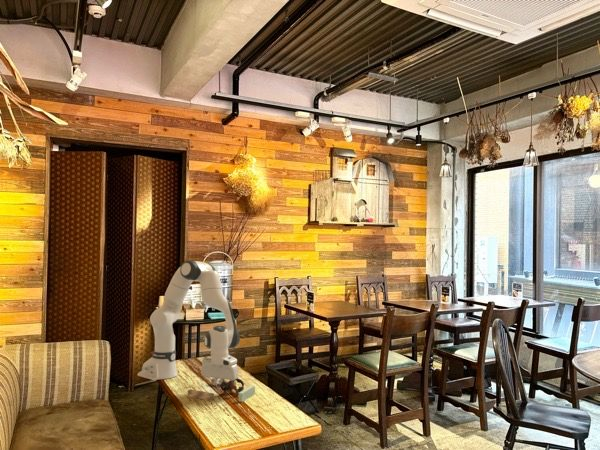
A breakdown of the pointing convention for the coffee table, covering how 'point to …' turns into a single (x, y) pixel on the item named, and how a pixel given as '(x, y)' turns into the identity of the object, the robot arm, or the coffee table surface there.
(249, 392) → the block
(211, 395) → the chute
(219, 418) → the coffee table surface
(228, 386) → the broken brown clay pot
